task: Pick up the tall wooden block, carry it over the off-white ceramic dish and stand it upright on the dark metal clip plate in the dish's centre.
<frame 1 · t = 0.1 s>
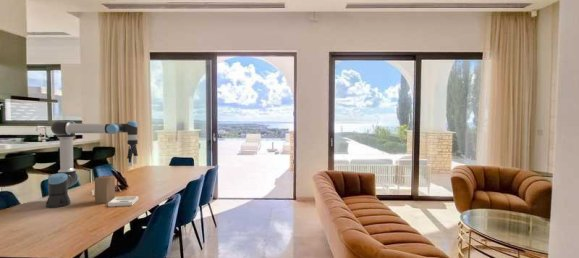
hand: (132, 164, 256), 28 cm above the table, fingers open, 13 cm apart
wooden block: (105, 202, 245), on the table
dish: (123, 203, 242), on the table
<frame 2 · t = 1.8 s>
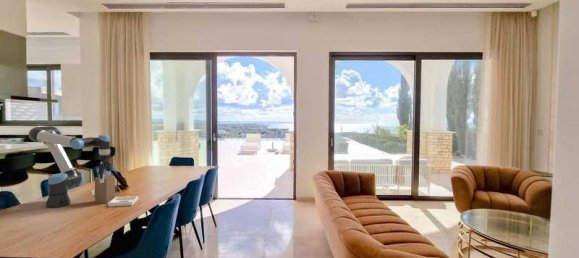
hand: (105, 180, 244), 17 cm above the table, fingers open, 13 cm apart
nothing on the table moved.
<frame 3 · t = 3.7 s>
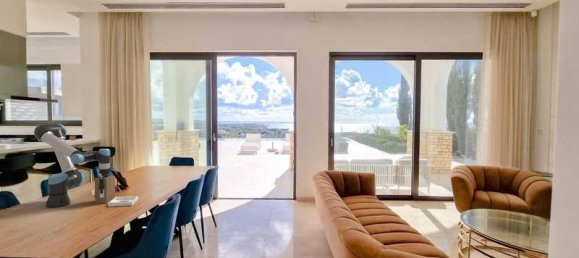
hand: (105, 195, 244), 5 cm above the table, fingers closed on wooden block, 11 cm apart
wooden block: (105, 202, 245), on the table, touching gripper
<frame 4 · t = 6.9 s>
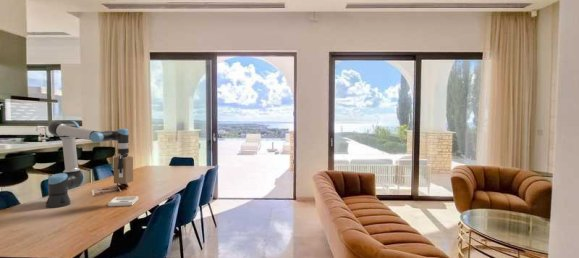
hand: (123, 175, 241), 22 cm above the table, fingers closed on wooden block, 11 cm apart
wooden block: (123, 182, 241), point 17 cm above the table, touching gripper
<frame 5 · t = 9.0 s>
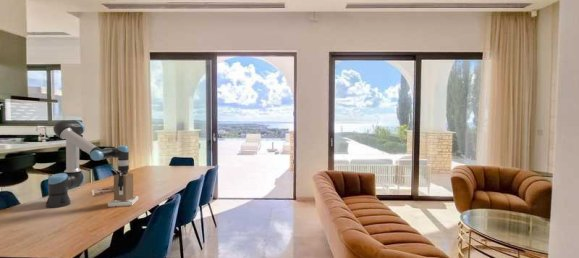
hand: (123, 192, 242), 8 cm above the table, fingers closed on wooden block, 11 cm apart
wooden block: (123, 199, 242), point 3 cm above the table, touching gripper
when the fingers open (7 cm above the table, at t = 10.5 s): wooden block stays where it is, resting on dish.
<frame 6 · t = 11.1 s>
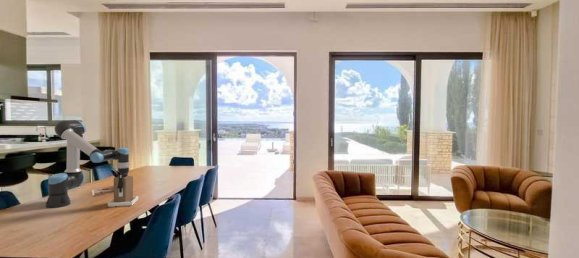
hand: (123, 194, 242), 7 cm above the table, fingers open, 13 cm apart
wooden block: (123, 202, 242), point 1 cm above the table, touching dish
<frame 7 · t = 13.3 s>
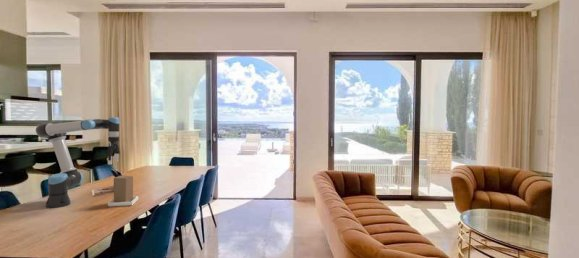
hand: (113, 163, 245), 31 cm above the table, fingers open, 13 cm apart
nothing on the table moved.
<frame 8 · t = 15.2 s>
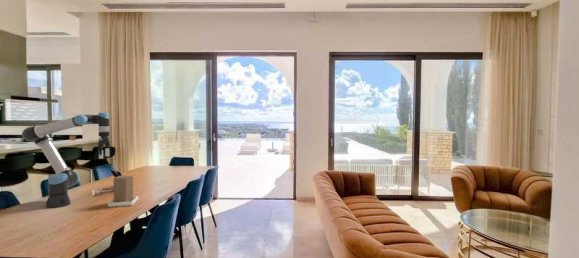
hand: (104, 157, 250), 35 cm above the table, fingers open, 13 cm apart
nothing on the table moved.
at the end: wooden block inside the target area on the dish (0.0 cm from its centre), point 0.9 cm above the dish's base; wooden block tilted 0°; the gripper is holding nothing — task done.
